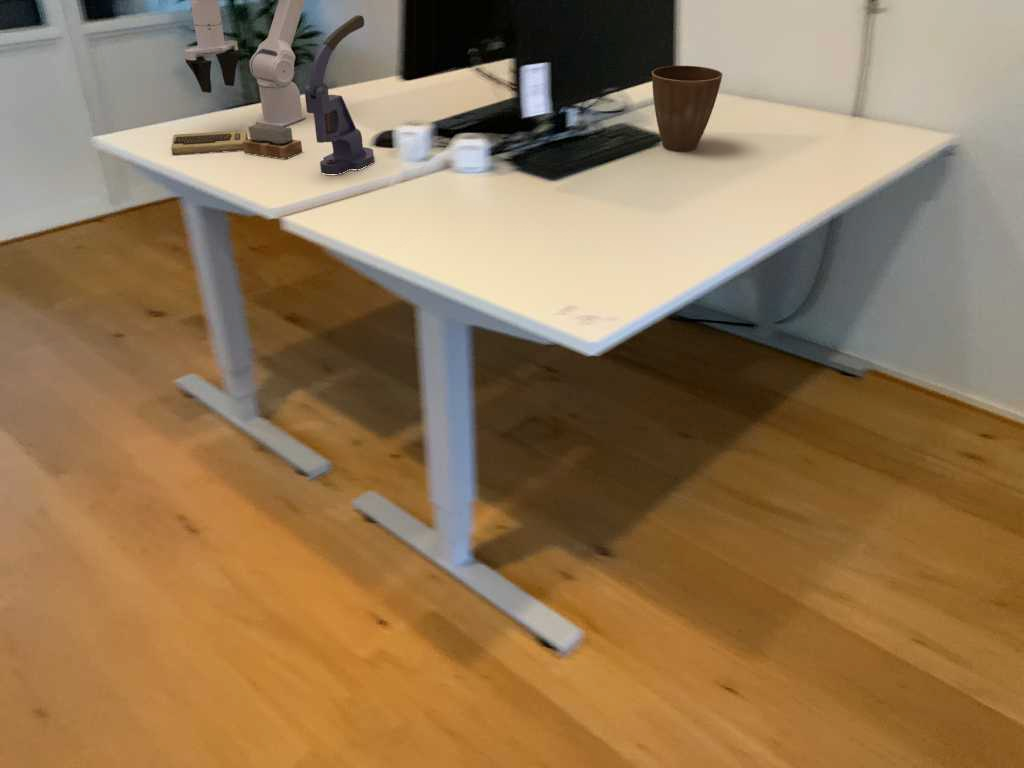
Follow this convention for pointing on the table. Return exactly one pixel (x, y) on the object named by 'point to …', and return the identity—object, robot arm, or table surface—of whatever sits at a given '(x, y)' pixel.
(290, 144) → the rectangular frame with crossbar
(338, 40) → the hand press
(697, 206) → the table surface
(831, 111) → the table surface
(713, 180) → the table surface
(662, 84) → the plant pot
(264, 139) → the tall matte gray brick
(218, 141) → the beige retro keyboard
